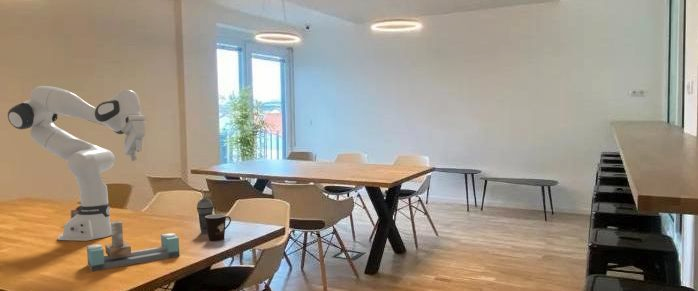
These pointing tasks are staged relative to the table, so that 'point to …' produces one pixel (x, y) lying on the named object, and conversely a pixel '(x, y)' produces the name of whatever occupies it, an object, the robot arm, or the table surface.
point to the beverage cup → (204, 212)
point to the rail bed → (133, 254)
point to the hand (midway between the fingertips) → (136, 155)
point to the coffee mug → (216, 226)
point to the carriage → (117, 242)
